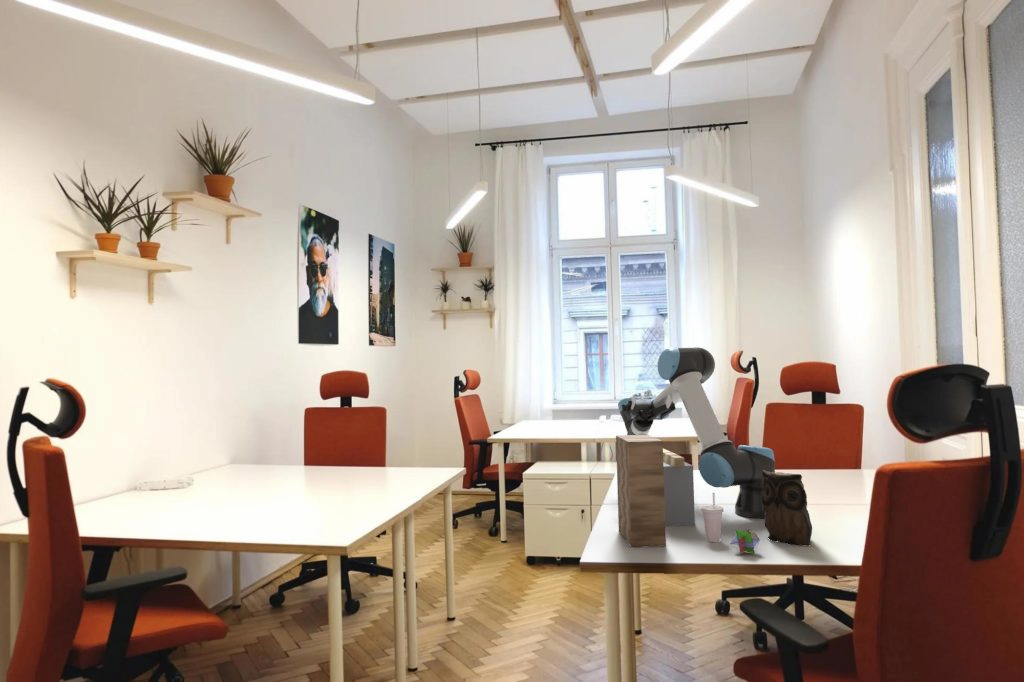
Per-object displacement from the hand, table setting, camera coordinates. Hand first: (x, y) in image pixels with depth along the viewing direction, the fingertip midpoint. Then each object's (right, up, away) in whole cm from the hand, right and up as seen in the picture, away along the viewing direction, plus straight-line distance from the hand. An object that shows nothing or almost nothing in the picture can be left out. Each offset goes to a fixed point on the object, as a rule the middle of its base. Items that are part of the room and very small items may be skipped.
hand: (652, 397), depth 243 cm
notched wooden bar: (+1, -20, -18) cm, 27 cm away
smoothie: (+7, -38, -50) cm, 63 cm away
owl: (+30, -38, -51) cm, 70 cm away
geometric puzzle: (+12, -38, -63) cm, 74 cm away
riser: (+2, -39, -23) cm, 46 cm away
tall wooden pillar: (-13, -39, -45) cm, 61 cm away
